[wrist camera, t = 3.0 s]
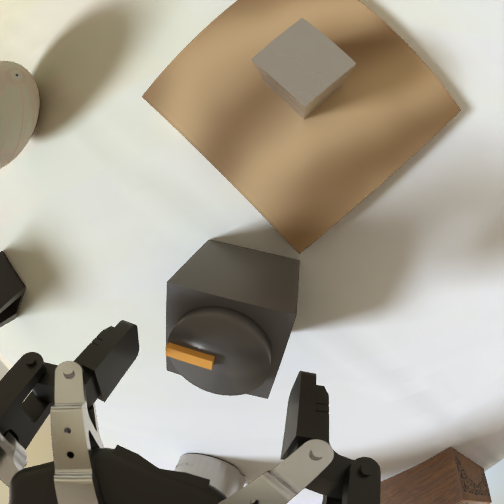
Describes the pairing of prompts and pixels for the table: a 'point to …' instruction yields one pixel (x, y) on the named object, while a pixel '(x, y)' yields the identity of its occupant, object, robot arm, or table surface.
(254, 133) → the base plate
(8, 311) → the phone stand
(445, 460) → the tissue box cover
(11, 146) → the eye model
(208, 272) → the knob
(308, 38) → the matte grey cube
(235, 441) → the table surface
